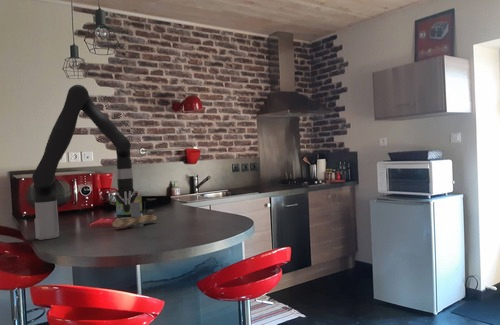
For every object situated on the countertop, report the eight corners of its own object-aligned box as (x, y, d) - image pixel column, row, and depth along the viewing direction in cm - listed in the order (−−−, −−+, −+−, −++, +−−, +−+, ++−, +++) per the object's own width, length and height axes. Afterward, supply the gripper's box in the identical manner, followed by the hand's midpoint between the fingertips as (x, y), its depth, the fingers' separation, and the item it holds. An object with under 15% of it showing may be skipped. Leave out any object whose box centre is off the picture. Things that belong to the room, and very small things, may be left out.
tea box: (135, 223, 210) (133, 196, 210) (116, 224, 211) (114, 197, 210) (143, 218, 226) (141, 193, 225) (125, 219, 226) (124, 194, 225)
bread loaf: (118, 231, 190) (117, 216, 190) (112, 229, 195) (111, 215, 195) (157, 223, 206) (156, 210, 206) (150, 222, 211) (149, 209, 211)
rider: (135, 219, 198) (134, 201, 198) (131, 218, 201) (130, 201, 201) (140, 218, 201) (139, 201, 200) (136, 217, 203) (135, 200, 203)
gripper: (116, 178, 190) (118, 214, 190) (140, 176, 199) (142, 210, 199) (109, 178, 195) (110, 213, 195) (133, 176, 204) (134, 209, 204)
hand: (126, 212), depth 197 cm, fingers closed
